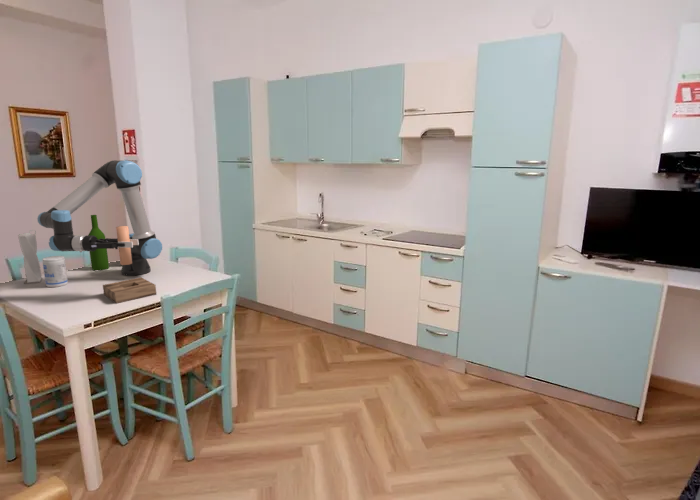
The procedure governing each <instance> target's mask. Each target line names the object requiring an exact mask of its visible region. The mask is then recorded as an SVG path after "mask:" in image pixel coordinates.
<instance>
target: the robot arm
mask: <svg viewBox="0 0 700 500" xmlns="http://www.w3.org/2000/svg"><path fill="white" fill-rule="evenodd" d="M142 177H143V172H142V169H141V167H140V166H139V165H138V164H137V163H135V162H134V161H130V160H127V159H124V160H110V161H107V162H106V163H104V164H103V165H101V166H100V167H99V168H97V169H96V170H95V171H94V172H92V173H91V177H90V178H88V180H86V181H84V182H83V183H82V184H80V185H79V186H78V187H77V188H76V189H74V190H73V191H71V192H70V194H68V195H67V196H66V197H64V198H62V199H61V200H60V201H58V203H57V204H55V205H54V206H53V207H51V208H50V209H48V211H44V212H40V213H39V214H38V216H37V218H36V219H37V223H38V224H39V225H40V226H42V227H43V228H47V229H52V230H53V235H52V236H50V238H49V241H48V246H49V248H50V250H52V251H54V252H79V253H83V252H90V251H95V250H96V249H107V250H108V249H109V250H110V249H113V250H114V249H115V250H119V248H131V256H132V264H129V265H121V266H122V267H121V275H123V276H125V277H126V276H129V277H130V276H133V277H134V276H140V275H145V274H148V273H150V272H151V266H150V264H149V262H148V260H152V259H153V260H154V259H156V258H157V257H159V256H160V254H161V253H162V251H163V243H162V242H161V240H159V239H158V238H157V236H156V234H155V231H153V230H152V229H151V225H150V223H149V218H148V215H147V212H146V208H145V205H144V202H143V198H142V194H141V191H140V187H141V186H142V183H141V179H142ZM114 184H115V187H116V189H117V190H119V191H120V192H121V195H122V199H123V202H124V205H125V208H126V211H127V215H128V219H129V221H130V222H129V223H130V225H131V228H132V232H133V233H129V239H130V242H118V239H117V238H108V237H105V239H99V240H98V239H97V238H96V237H95V236H88V235H83V234H82V235H81V234H79V235H74V229H73V221H72V216H71V215H72V214H73V213H75V212H76V211H77V210H78V209H80V208H81V207H82V206H83V205H85V203H87V202H88V201H90V200H91V199H92V198H93V197H94V196H95V195H97V194H98V193H99V192H101V191H102V190H103V189H104V188H105V189H106V188H109V187H110V186H111V185H114Z"/></svg>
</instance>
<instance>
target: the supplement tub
mask: <svg viewBox="0 0 700 500" xmlns="http://www.w3.org/2000/svg"><path fill="white" fill-rule="evenodd" d="M42 266H43V267H42V268H43V275H44V282H45V286H46V287H48V288H56V287H57V288H59V287H63V286H66V285H67V284H68V283H69V281H68V280H69V279H68V274H67V267H66V259H65V256H64V255H53V256H51V255H50V256H46V257H44V258H42Z"/></svg>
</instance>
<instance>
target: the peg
mask: <svg viewBox="0 0 700 500" xmlns="http://www.w3.org/2000/svg"><path fill="white" fill-rule="evenodd" d="M115 228H116V239H118V242H130V239H129V234H130V230H129V225H128V226H127V225H119V226H118V225H117V226H116V227H115ZM118 254H119V263H120V265H121V266H123V265H129V264H132V256H131V248H118Z"/></svg>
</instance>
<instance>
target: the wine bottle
mask: <svg viewBox="0 0 700 500" xmlns="http://www.w3.org/2000/svg"><path fill="white" fill-rule="evenodd" d="M97 217H98V216H97V214H91V215H90V220H91V221H90V223H91V229H90V231H89V233H88V234H87V236H95V237H96V238H97V239H98V240H99V239H106V235H105V233H104V232H103V231H102V230H101V229H100V227H99V224H98V223H99V222H98V218H97ZM89 257H90V264H91V269H92V271H95V270H98V271H104V270H108V269H109V268H110V265H109V263H110V262H109V256H108V249H96V250H95V251H89Z"/></svg>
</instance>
